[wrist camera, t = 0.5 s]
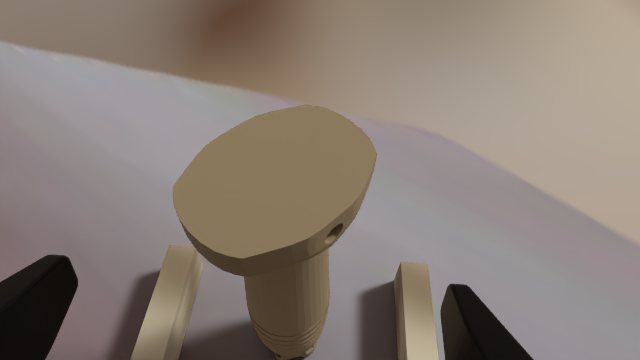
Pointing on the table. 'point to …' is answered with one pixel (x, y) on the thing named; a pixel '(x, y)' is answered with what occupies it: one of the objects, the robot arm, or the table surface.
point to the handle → (278, 213)
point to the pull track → (183, 279)
